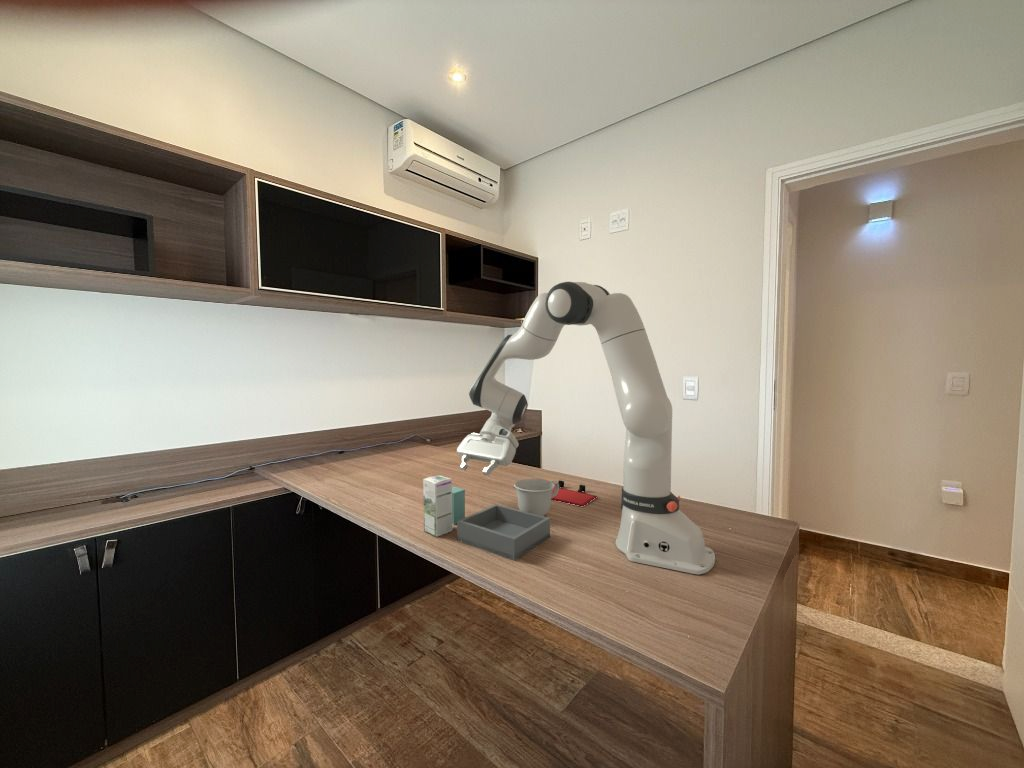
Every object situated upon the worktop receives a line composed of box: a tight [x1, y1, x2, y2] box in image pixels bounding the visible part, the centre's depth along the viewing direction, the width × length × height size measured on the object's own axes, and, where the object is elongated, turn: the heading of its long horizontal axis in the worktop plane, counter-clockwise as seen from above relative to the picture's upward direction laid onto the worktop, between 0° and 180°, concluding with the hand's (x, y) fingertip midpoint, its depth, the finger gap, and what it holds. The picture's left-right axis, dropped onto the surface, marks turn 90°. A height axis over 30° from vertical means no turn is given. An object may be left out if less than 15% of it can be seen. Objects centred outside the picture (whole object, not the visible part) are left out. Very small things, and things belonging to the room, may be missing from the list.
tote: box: [456, 503, 551, 561], centre depth 104 cm, size 18×16×5 cm
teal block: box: [452, 486, 466, 526], centre depth 116 cm, size 4×4×9 cm
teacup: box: [513, 478, 559, 517], centre depth 119 cm, size 12×15×10 cm
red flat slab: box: [551, 479, 598, 507], centre depth 142 cm, size 30×3×15 cm
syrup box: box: [422, 474, 453, 538], centre depth 108 cm, size 6×6×14 cm
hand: (473, 471), depth 123 cm, fingers open, 8 cm apart
